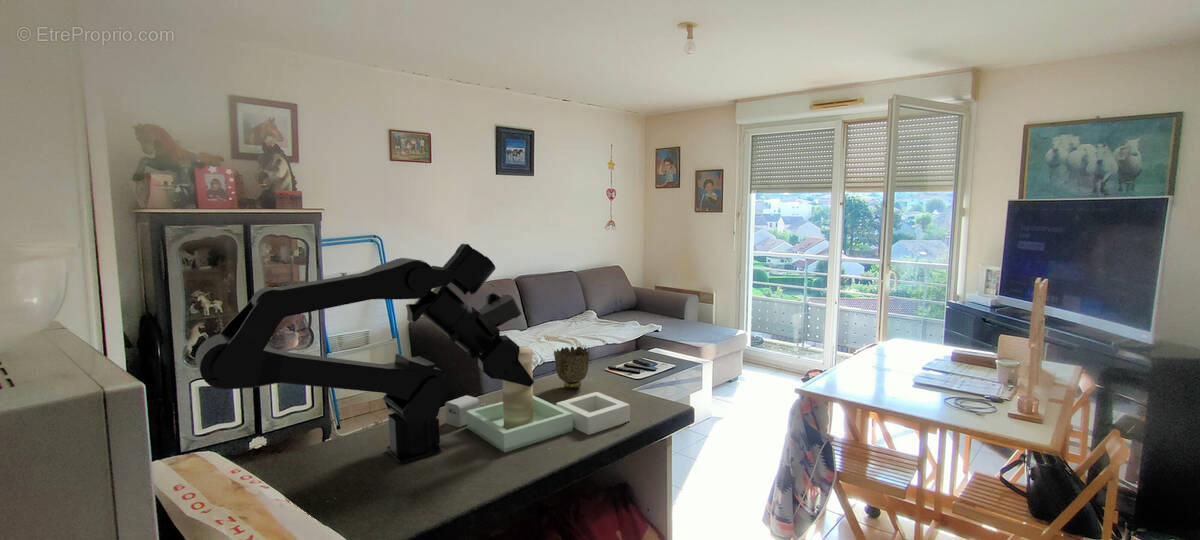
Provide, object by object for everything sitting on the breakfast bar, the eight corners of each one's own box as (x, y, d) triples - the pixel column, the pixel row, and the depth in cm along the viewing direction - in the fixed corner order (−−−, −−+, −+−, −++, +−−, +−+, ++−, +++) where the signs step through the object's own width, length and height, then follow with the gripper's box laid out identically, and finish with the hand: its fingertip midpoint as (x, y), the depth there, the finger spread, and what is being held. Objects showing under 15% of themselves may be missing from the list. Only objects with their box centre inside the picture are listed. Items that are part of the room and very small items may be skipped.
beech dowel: (513, 434, 91) (511, 356, 90) (498, 425, 95) (496, 350, 93) (539, 426, 94) (537, 351, 93) (523, 418, 98) (522, 345, 97)
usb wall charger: (445, 423, 98) (444, 401, 97) (476, 411, 103) (475, 390, 103) (460, 428, 95) (459, 405, 95) (491, 416, 101) (490, 394, 101)
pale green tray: (504, 452, 85) (504, 433, 85) (466, 427, 95) (466, 410, 95) (572, 430, 94) (572, 413, 93) (531, 410, 104) (531, 394, 103)
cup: (549, 385, 118) (548, 348, 117) (581, 380, 121) (581, 344, 120) (562, 395, 111) (561, 356, 111) (595, 390, 114) (595, 352, 114)
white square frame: (588, 434, 92) (588, 417, 91) (556, 419, 99) (556, 402, 98) (629, 421, 97) (629, 404, 97) (597, 407, 105) (596, 391, 104)
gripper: (503, 286, 82) (575, 352, 87) (477, 274, 98) (538, 329, 104) (450, 345, 79) (527, 408, 85) (433, 322, 96) (498, 376, 102)
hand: (524, 376), depth 94 cm, fingers open, 9 cm apart
